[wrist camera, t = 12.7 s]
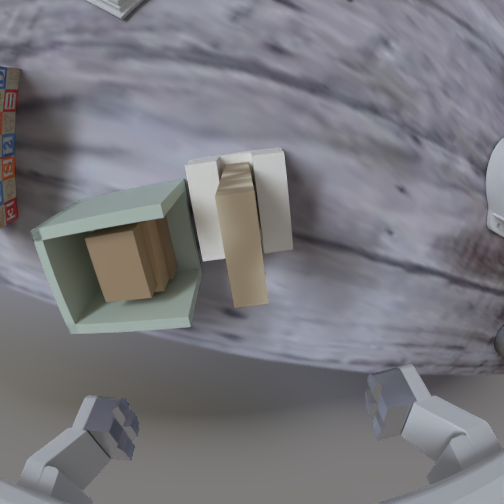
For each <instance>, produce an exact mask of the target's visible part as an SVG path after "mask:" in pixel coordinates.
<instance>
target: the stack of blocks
mask: <svg viewBox="0 0 504 504" xmlns="http://www.w3.org/2000/svg"><path fill="white" fill-rule="evenodd" d="M19 78H20V69H17V68H7V67H0V228H2V227H4V226H6V224H8V223H10V222H12V221H14V220H16V219H17V218H18V214H17V204H16V182H15V155H14V145H15V143H14V142H15V134H14V133H15V114H16V105H17V94H18V86H19Z"/></svg>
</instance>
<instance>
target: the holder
mask: <svg viewBox="0 0 504 504" xmlns="http://www.w3.org/2000/svg"><path fill="white" fill-rule="evenodd" d="M247 161H248V164H249V168H250V173H251V178H252V182H253V187H254V192H255V200H256V208H257V215H258V223H259V231H260V239H261V240H262V243H263V249H264V253H272V252H280V251H287V250H293V240H292V228H291V216H290V205H289V195H288V185H287V175H286V165H285V156H284V152H283V151H282V148H280V147H279V148H270V149H261V150H253V151H245V152H237V153H230V154H223V155H217V156H210V157H204V158H198V159H192V160H190V161H189V163H188V164H187V165H185V169H186V175H187V181H188V186H189V192H190V197H191V203H192V208H193V214H194V219H195V224H196V229H197V235H198V240H199V245H200V250H201V255H202V259H203V261H210V260H218V259H225V253H224V247H223V242H222V236H221V230H220V224H219V218H218V212H217V206H216V200H215V194H216V191H217V188H218V185H219V182H220V179H221V176H222V173H223V171H224V168H225V165H226V164H233V163H240V162H247Z"/></svg>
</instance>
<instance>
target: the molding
mask: <svg viewBox="0 0 504 504" xmlns="http://www.w3.org/2000/svg"><path fill="white" fill-rule="evenodd" d="M85 1H87V2H89V3H91V4H93V5H95V6H97V7H99V8H101V9H103V10H105V11H107V12H109V13H110V14H112V15H114V16H116V17H118V18H120V19H121V20H123V19H124V18H125V17H126V16H127V15H128V14H129V13H130V12H131V11H132V10H133V9H134V8H135V7H137V6H138V5H139V4H140V3H141V2H143V1H144V0H85Z"/></svg>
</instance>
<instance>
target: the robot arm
mask: <svg viewBox="0 0 504 504" xmlns="http://www.w3.org/2000/svg"><path fill="white" fill-rule="evenodd" d="M486 195H487V201H488V215H487V227H488V229H489V230H491V231H493V232H495V233H496V234H498V235H500V236H502V237H503V238H504V138H503V139H502V140H500V142H499V143H498V144H497V145H496V147H495V149H494V150H493V152H492V155H491V157H490V160H489V164H488V168H487V175H486ZM367 382H368V385H369V388H368V389H367V390H366V392H365V405H366V409H367V412H368V415H369V416H370V417H371V418H373V419H374V421H373V425H372V426H373V429H374V432H375V435H376V437H377V440H381V439H385V438H389V437H393V436H397V435H400V434H401V436H402V437H403V438H405V439H406V440H407V441H408V442H410V443H411V444H412V445H414V446H415V447H416V448H418V449H419V450H420V451H422V452H423V453H424V454H426V455H427V456H428V457H430V458H431V459H432V460H434V461H435V462H436V463H435V465H434V466H433V468H432V469H431V471H430V472H429V474H428V475H427V479H428V481H429V484H430V485H428V486H425V487H423V488H420V489H418V490H415V491H412V492H409V493H407V494H404V495H401V496H398V497H395V498H392V499H389V500H385V501H382V502H379V503H375V504H504V448H503V449H502V447H501V445H500V443H499V442H498V440H497V438H496V437H495V435H494V433H493V431H492V430H491V428H490V426H489V425H488V423H487V422H486V421H484V420H482V419H480V418H478V417H476V416H474V415H472V414H470V413H468V412H467V411H464V410H463V409H461V408H459V407H457V406H455V405H453V404H451V403H449V402H447V401H445V400H443V399H441V398H439V397H437V396H431V395H430V393H429V391H428V389H427V388H426V386H425V384H424V382H423V381H422V379H421V377H420V376H419V374H418V372H417V371H416V369H415V367H414V366H413V365H412V364H408V365H404V366H400V367H397V368H392V369H388V370H384V371H380V372H376V373H372V374H370V375H369V376H368V381H367ZM129 405H130V404H129V403H128V401H127V399H126V398H116V397H102V396H91V395H88V396H87V397H85V399H84V401H83V403H82V405H81V408H80V410H79V412H78V415H77V417H76V419H75V421H74V424H73V426H72V428H68V429H66V430H65V431H64V432H62V433H61V434H60V435H59V436H57V437H56V438H55V439H53V440H52V441H51V442H49V443H48V444H47V445H45V446H44V447H43V448H41V449H40V450H39V451H37V452H36V453H35V454H33V455H32V456H31V457H30V458H28V460H27V462H26V464H25V467H24V469H23V472H22V474H21V476H20V479H19V481H18V484H15V483H13V482H11V481H8V480H6V479H4V478H2V477H0V504H92V503H93V500H92V499H91V497H89V496H88V495H87V494H86V493H84V492H83V490H84V489H85V488H86V487H87V485H88V484H89V483H90V482H91V481H92V480H93V479H94V478H95V477H96V476H97V474H99V473H100V471H101V470H102V469H103V468H104V467H105V466H106V465H107V464H108V463H109V461H110V460H111V459H118V460H130V461H131V460H132V456H133V452H134V448H135V445H134V443H133V440H134V439H135V438H136V437H137V436H138V432H139V422H138V419H137V416H136V414H135V413H134V412H133V411H132V410H130V409H129Z"/></svg>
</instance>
